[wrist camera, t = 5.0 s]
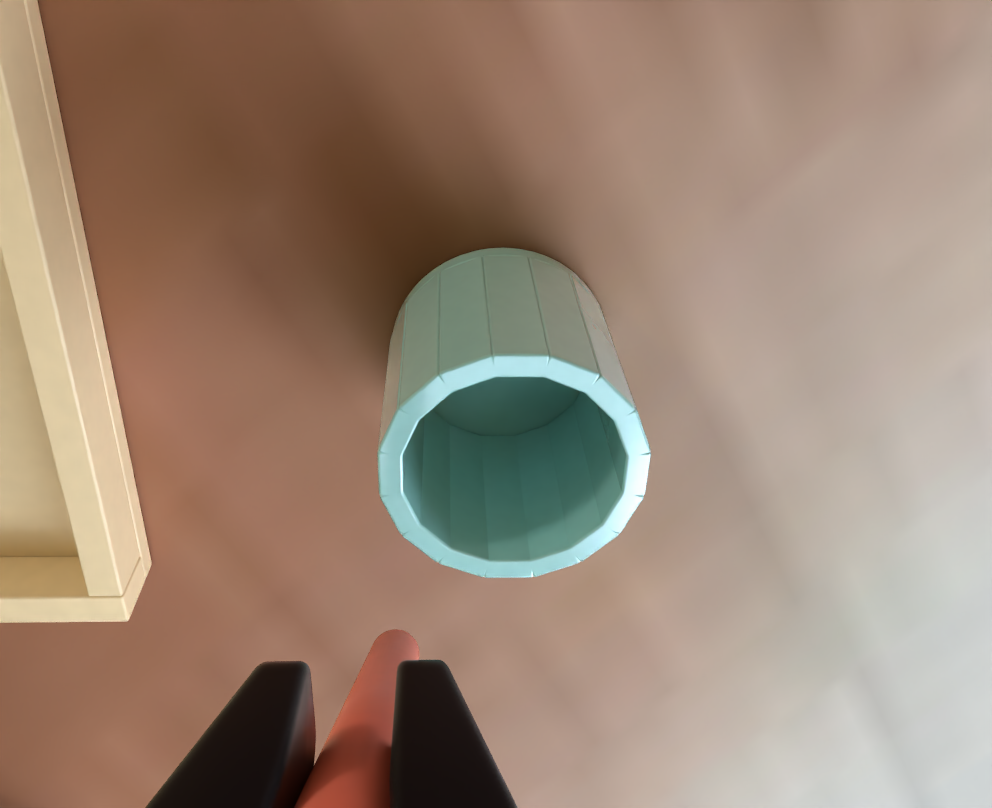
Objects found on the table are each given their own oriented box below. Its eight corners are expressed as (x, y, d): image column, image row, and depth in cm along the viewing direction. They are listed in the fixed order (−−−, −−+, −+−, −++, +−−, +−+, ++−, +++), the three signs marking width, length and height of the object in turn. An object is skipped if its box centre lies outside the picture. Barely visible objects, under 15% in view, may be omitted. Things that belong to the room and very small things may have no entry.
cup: (596, 439, 22) (633, 578, 18) (393, 439, 22) (381, 579, 18) (617, 248, 20) (666, 355, 15) (389, 244, 19) (373, 353, 15)
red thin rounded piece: (419, 654, 16) (393, 1544, 7) (373, 654, 16) (291, 1552, 7) (417, 251, 12) (362, 1080, 4) (357, 250, 12) (160, 1085, 4)
